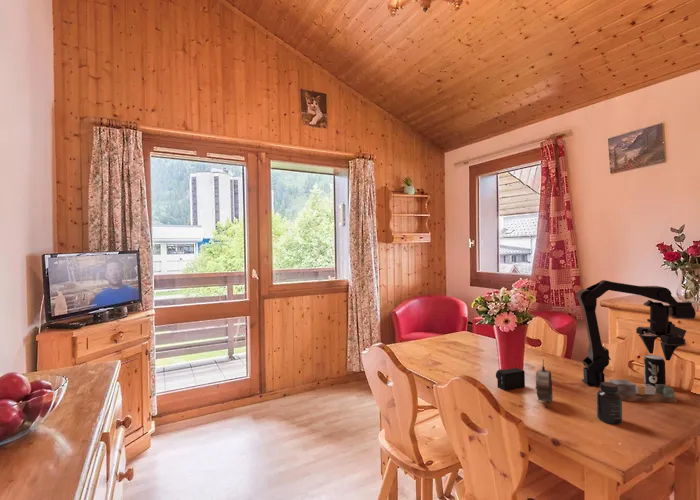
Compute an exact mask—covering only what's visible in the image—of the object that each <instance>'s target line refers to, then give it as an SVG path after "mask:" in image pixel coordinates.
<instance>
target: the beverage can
mask: <svg viewBox="0 0 700 500" xmlns="http://www.w3.org/2000/svg"><path fill="white" fill-rule="evenodd" d="M664 358H665V357H663V356H660V355H655V354H645V355H644V359H643V367H644V368H643V371H644V373H643V375H644V377H643V378H644V384H650V385H652V386H654V387H655V384H663V385H666V383H667V382H666V378H667V377H666V360H665V359H664ZM666 386H667V385H666Z"/></svg>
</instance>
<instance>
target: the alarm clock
mask: <svg viewBox="0 0 700 500" xmlns="http://www.w3.org/2000/svg"><path fill="white" fill-rule="evenodd" d="M544 365H545V359H544V358H543V359H542V366H541V368H542V369H538V370H537V371H536V374H535V389H536V395H537V401H542V402H545V408H547V409H548V403H552V402H553V382H552V373H551V370H548V369H547V370H546V369H545V366H544Z"/></svg>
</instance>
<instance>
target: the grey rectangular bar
mask: <svg viewBox="0 0 700 500" xmlns="http://www.w3.org/2000/svg"><path fill="white" fill-rule="evenodd" d="M633 383H634V384H635V385H636V394H639V395H645V394H651V395H655V387H654V386H652V385H650V384H645V383H637V382H633Z"/></svg>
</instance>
